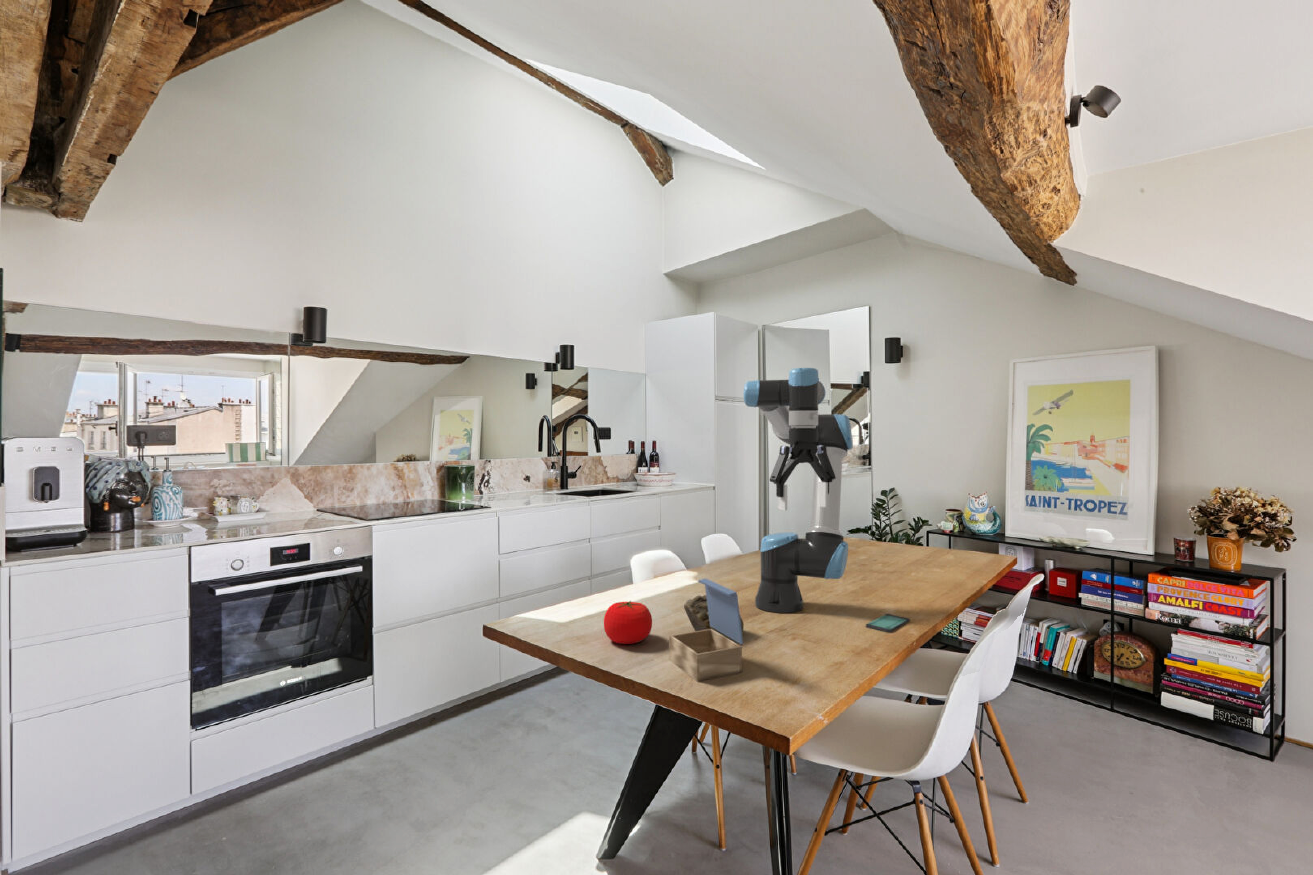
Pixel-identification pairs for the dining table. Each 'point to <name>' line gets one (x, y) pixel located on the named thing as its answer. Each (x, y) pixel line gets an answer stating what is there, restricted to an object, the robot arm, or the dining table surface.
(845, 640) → the dining table surface
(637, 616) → the tomato
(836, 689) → the dining table surface
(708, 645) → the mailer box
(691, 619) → the stone
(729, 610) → the lid
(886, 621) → the smartphone
